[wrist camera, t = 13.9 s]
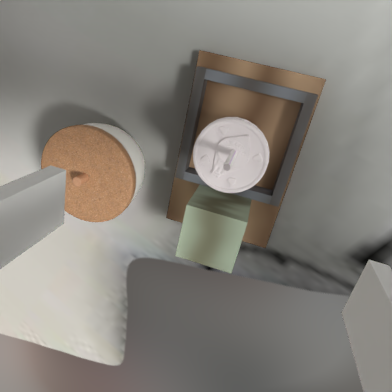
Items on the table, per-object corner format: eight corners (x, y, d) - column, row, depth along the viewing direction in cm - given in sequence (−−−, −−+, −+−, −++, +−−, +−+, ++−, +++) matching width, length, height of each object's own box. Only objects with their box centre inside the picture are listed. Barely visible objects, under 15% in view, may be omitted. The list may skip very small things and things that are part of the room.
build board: (324, 79, 32) (342, 81, 24) (265, 243, 40) (263, 288, 32) (201, 50, 34) (178, 43, 25) (169, 214, 42) (143, 249, 33)
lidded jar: (103, 207, 44) (62, 239, 35) (65, 134, 41) (11, 150, 32) (170, 183, 40) (143, 214, 32) (134, 102, 37) (94, 111, 29)
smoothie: (283, 132, 34) (289, 168, 21) (243, 175, 36) (228, 231, 24) (236, 93, 33) (214, 106, 21) (200, 140, 36) (161, 177, 23)
